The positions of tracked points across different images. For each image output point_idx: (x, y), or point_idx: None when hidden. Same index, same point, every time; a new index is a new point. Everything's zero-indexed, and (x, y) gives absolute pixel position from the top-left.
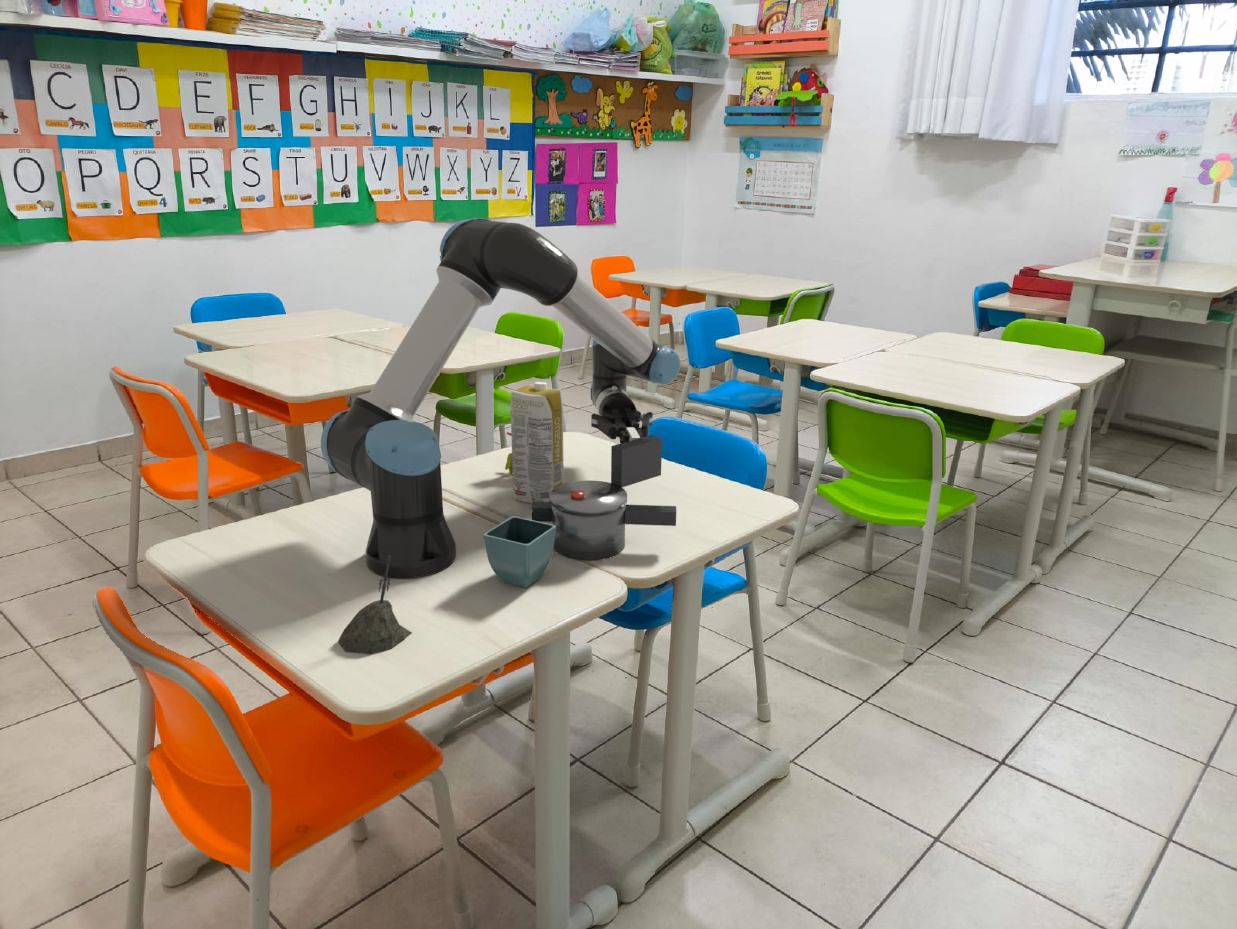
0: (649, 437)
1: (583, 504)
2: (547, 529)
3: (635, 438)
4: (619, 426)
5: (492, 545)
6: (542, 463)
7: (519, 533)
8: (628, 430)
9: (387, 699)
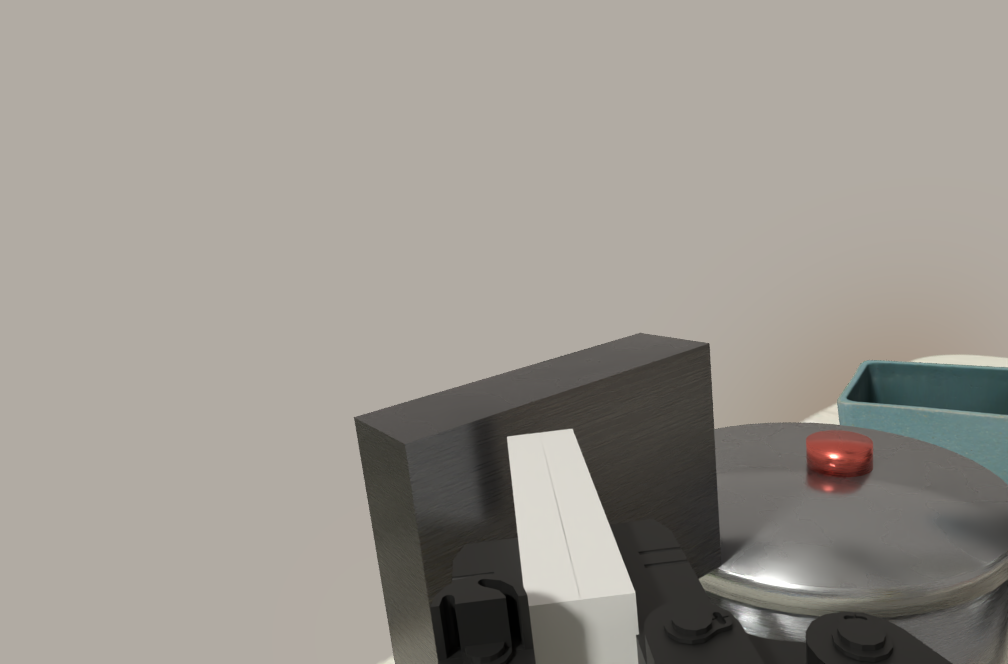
0: (439, 418)
1: (789, 438)
2: (869, 418)
3: (548, 435)
4: (762, 662)
5: (993, 392)
6: None
7: (995, 464)
8: (607, 526)
9: (925, 361)
